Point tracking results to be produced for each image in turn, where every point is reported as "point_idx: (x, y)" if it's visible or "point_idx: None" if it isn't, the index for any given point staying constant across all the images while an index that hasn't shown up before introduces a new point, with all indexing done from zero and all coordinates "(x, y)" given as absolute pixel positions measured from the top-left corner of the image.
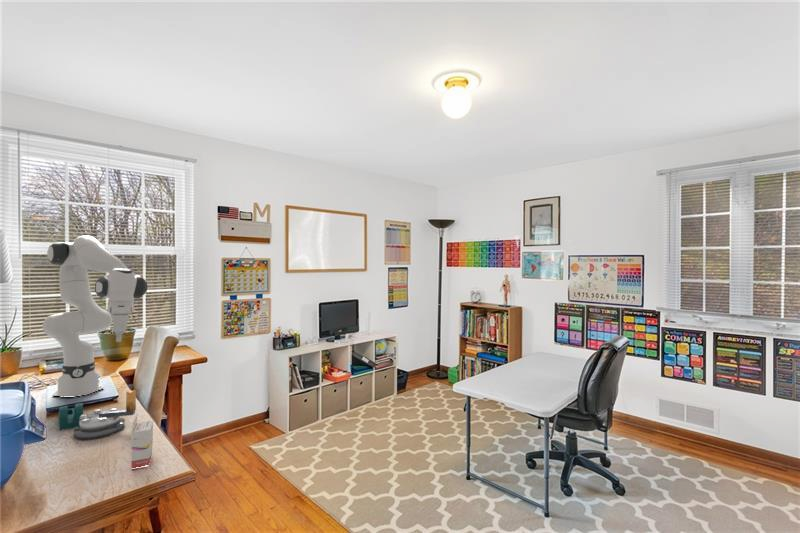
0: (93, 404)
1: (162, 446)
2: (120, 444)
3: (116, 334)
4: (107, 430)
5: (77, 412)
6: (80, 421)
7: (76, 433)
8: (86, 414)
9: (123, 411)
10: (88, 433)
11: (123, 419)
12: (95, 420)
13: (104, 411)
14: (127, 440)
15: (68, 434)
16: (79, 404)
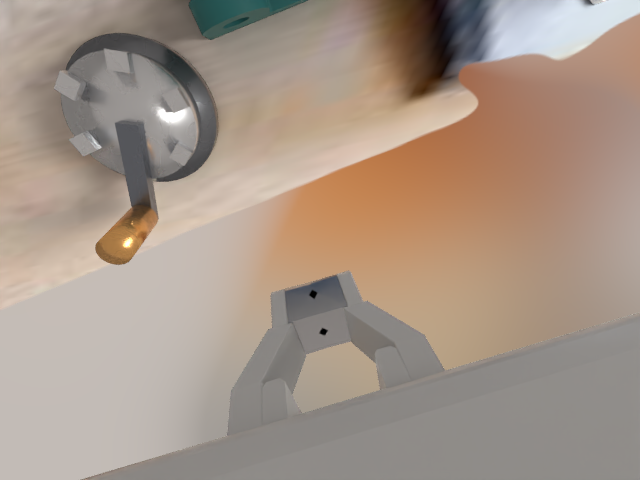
0: (428, 12)
1: (39, 283)
2: (46, 196)
3: (238, 381)
4: None
5: (192, 11)
6: (84, 60)
7: (72, 55)
8: (128, 69)
9: (134, 198)
10: None
11: (189, 173)
12: (93, 116)
13: (189, 121)
14: (74, 206)
15: (129, 10)
16: (219, 6)
